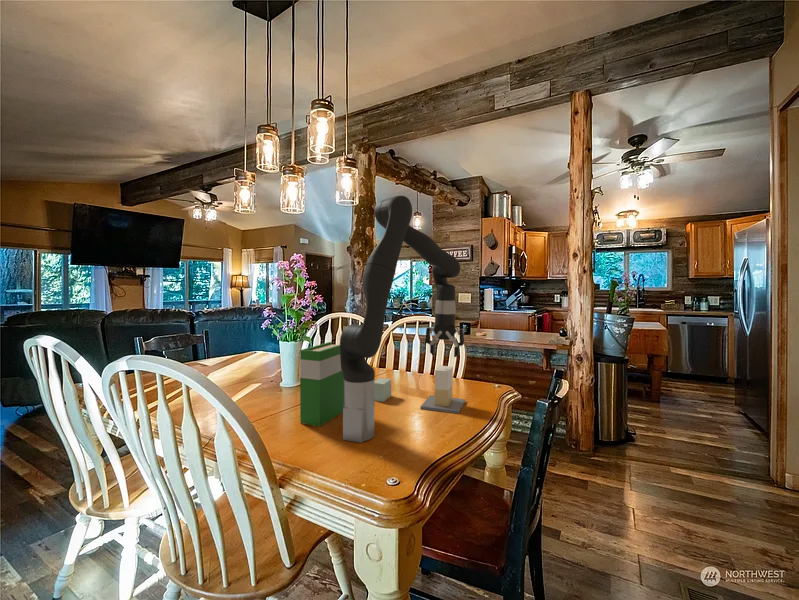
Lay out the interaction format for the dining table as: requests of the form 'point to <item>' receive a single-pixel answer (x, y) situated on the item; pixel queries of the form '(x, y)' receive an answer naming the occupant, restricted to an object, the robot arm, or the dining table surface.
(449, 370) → the off white brick
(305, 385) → the hardback book
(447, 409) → the board
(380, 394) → the sage brick
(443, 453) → the dining table surface
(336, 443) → the dining table surface
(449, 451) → the dining table surface
